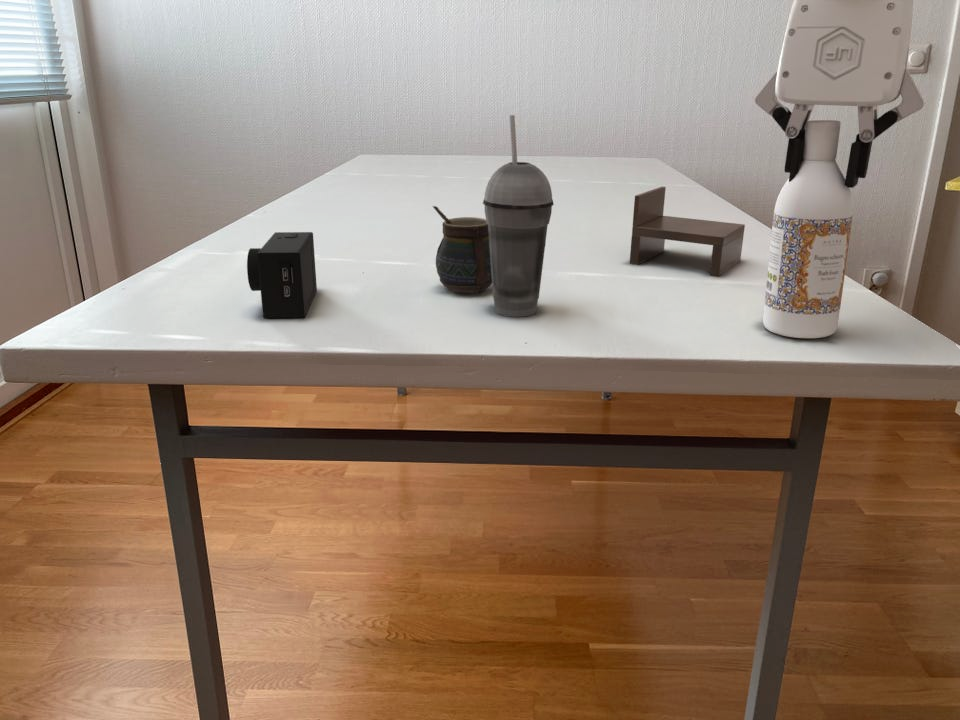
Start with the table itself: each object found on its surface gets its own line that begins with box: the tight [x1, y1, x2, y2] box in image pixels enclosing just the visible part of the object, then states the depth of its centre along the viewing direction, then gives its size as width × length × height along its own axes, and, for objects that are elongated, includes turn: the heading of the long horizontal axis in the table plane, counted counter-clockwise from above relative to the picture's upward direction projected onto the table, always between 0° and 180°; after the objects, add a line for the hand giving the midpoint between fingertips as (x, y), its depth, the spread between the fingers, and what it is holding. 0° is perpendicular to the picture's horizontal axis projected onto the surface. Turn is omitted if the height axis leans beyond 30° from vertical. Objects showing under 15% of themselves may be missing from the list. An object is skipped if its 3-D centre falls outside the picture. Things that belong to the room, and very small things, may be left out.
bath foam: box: [762, 119, 854, 339], centre depth 74 cm, size 7×7×20 cm
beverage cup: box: [482, 114, 555, 318], centre depth 80 cm, size 7×7×20 cm
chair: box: [629, 186, 746, 277], centre depth 103 cm, size 12×10×9 cm
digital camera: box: [246, 231, 318, 319], centre depth 84 cm, size 10×5×7 cm, turn 4°
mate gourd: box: [432, 205, 492, 294], centre depth 89 cm, size 7×8×10 cm
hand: (823, 181), depth 73 cm, fingers closed on bath foam, 4 cm apart
